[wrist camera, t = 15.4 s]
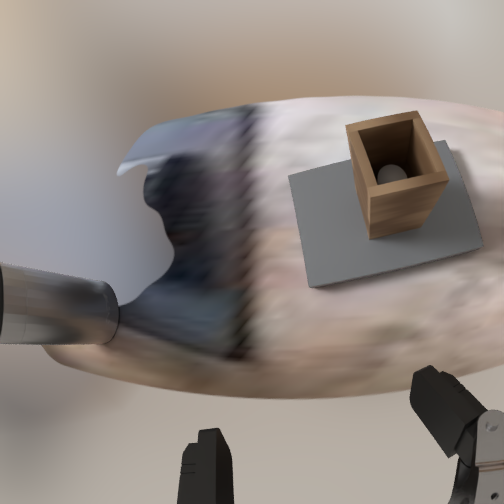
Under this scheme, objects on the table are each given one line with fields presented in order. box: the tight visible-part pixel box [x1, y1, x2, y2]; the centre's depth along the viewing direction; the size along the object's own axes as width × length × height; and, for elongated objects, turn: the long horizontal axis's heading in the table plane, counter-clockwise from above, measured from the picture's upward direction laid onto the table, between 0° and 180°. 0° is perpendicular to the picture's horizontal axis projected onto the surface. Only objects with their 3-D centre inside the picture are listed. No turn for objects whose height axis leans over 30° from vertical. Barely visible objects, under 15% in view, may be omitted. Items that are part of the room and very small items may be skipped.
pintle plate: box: [288, 140, 483, 288], centre depth 21 cm, size 17×11×8 cm, turn 98°
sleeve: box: [345, 111, 449, 240], centre depth 19 cm, size 5×5×10 cm
